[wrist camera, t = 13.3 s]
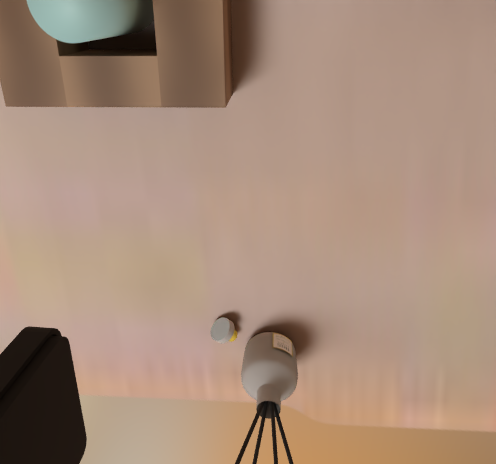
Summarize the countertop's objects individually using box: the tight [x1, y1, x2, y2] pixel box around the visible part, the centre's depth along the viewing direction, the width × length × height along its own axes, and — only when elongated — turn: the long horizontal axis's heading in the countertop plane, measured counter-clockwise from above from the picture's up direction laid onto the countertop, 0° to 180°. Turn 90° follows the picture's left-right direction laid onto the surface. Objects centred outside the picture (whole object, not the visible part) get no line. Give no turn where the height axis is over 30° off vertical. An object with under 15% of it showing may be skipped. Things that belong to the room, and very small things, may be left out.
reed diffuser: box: [211, 317, 298, 464], centre depth 35 cm, size 10×7×20 cm
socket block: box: [0, 0, 233, 108], centre depth 29 cm, size 14×12×5 cm
